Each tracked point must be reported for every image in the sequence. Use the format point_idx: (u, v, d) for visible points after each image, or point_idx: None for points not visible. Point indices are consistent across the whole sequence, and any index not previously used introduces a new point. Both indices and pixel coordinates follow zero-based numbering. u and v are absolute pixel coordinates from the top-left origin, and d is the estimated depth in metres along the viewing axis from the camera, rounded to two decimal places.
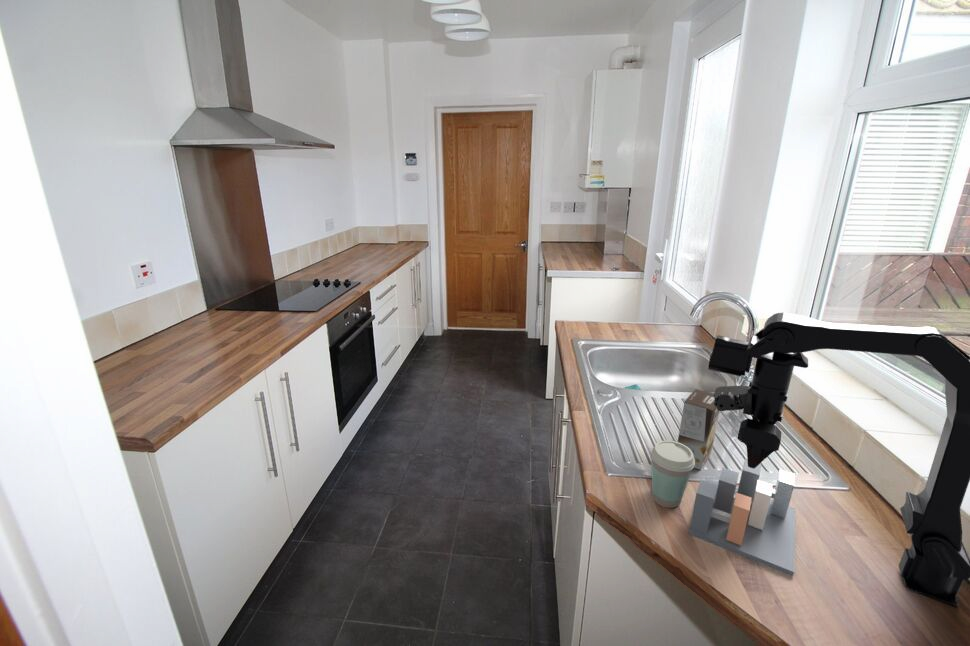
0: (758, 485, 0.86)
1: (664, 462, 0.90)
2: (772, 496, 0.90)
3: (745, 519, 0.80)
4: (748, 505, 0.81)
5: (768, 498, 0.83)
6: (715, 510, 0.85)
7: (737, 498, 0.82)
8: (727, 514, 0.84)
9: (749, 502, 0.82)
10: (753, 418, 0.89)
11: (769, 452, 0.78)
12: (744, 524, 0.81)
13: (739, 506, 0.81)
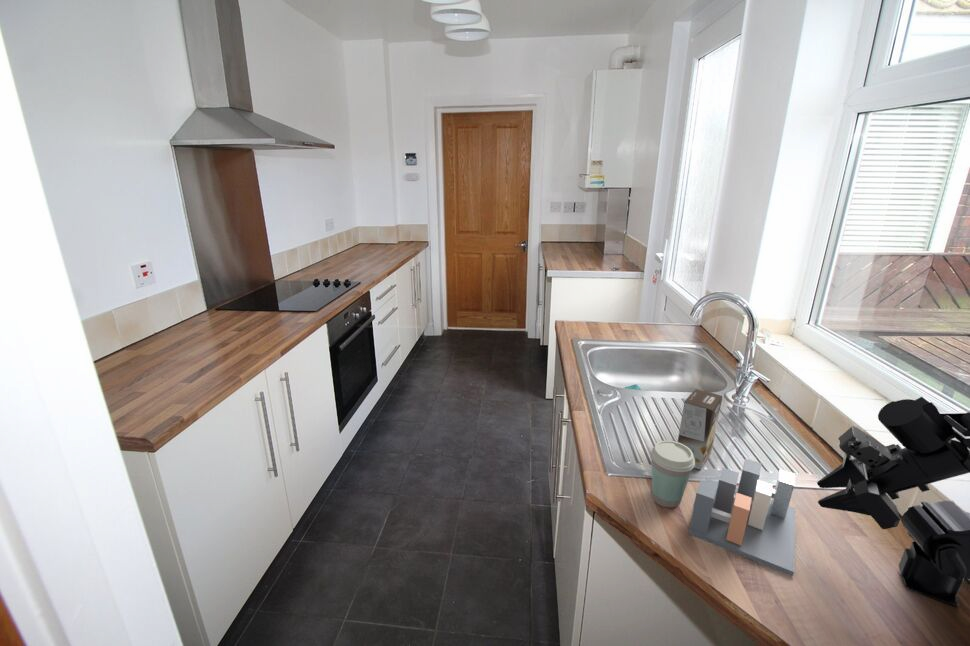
0: (758, 485, 0.86)
1: (664, 462, 0.90)
2: (772, 496, 0.90)
3: (745, 519, 0.80)
4: (748, 505, 0.81)
5: (768, 498, 0.83)
6: (715, 510, 0.85)
7: (737, 498, 0.82)
8: (727, 514, 0.84)
9: (749, 502, 0.82)
10: (843, 469, 0.80)
11: (861, 512, 0.73)
12: (744, 524, 0.81)
13: (739, 506, 0.81)
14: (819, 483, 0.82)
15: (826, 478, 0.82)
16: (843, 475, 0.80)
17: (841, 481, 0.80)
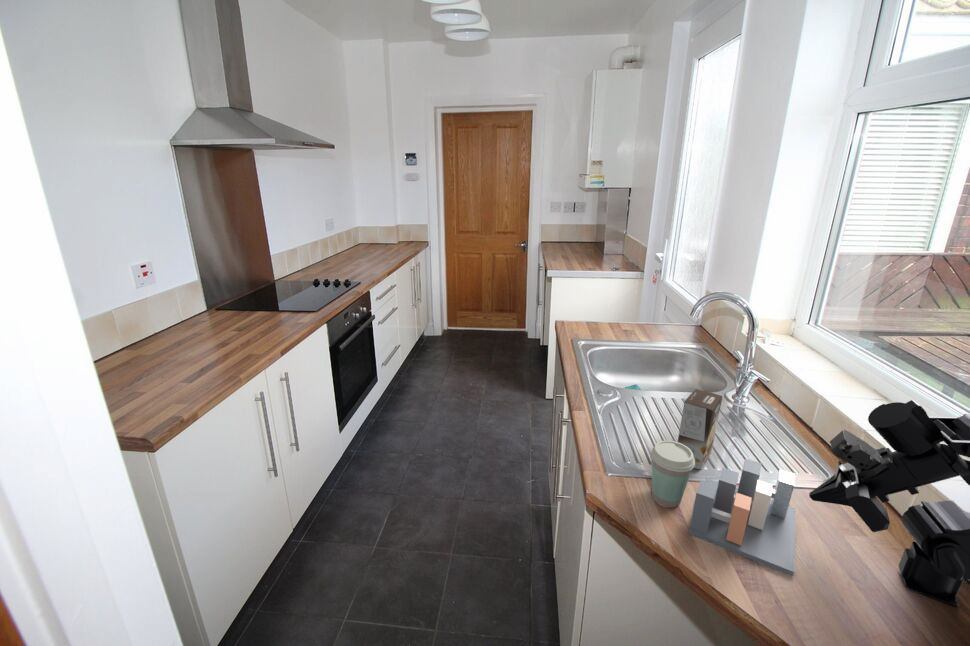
0: (758, 485, 0.86)
1: (664, 462, 0.90)
2: (772, 496, 0.90)
3: (745, 519, 0.80)
4: (748, 505, 0.81)
5: (768, 498, 0.83)
6: (715, 510, 0.85)
7: (737, 498, 0.82)
8: (727, 514, 0.84)
9: (749, 502, 0.82)
10: (835, 480, 0.79)
11: (850, 505, 0.76)
12: (744, 524, 0.81)
13: (739, 506, 0.81)
14: (811, 494, 0.81)
15: (818, 489, 0.80)
16: None
17: None
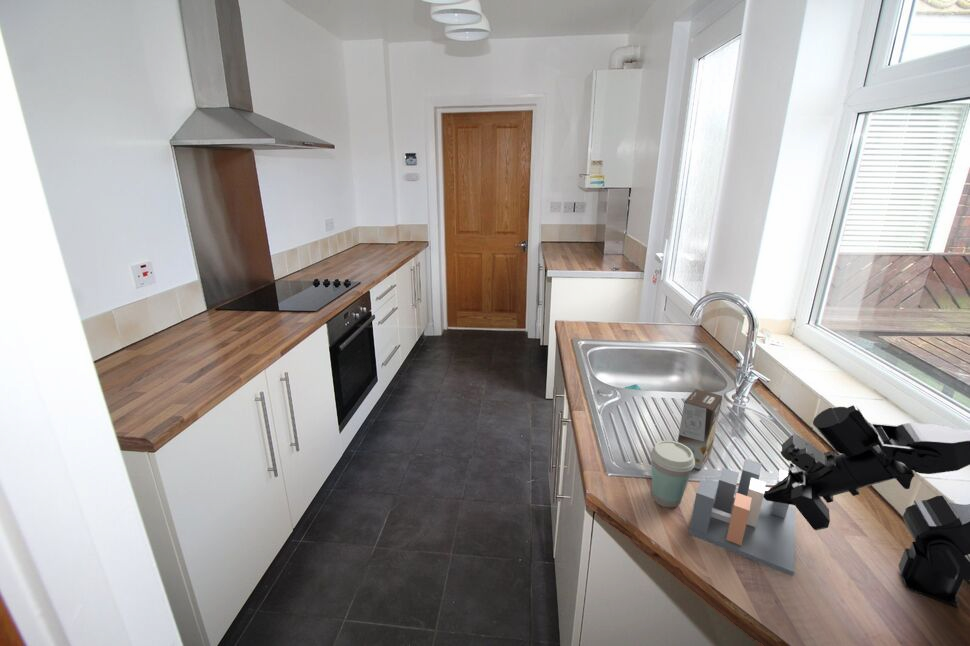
0: (751, 483, 0.86)
1: (664, 462, 0.90)
2: None
3: (745, 519, 0.80)
4: (748, 505, 0.81)
5: (761, 496, 0.84)
6: (715, 510, 0.85)
7: (737, 498, 0.82)
8: (727, 514, 0.84)
9: (749, 502, 0.82)
10: (786, 481, 0.83)
11: None
12: (744, 524, 0.81)
13: (739, 506, 0.81)
14: None
15: (771, 490, 0.85)
16: None
17: None
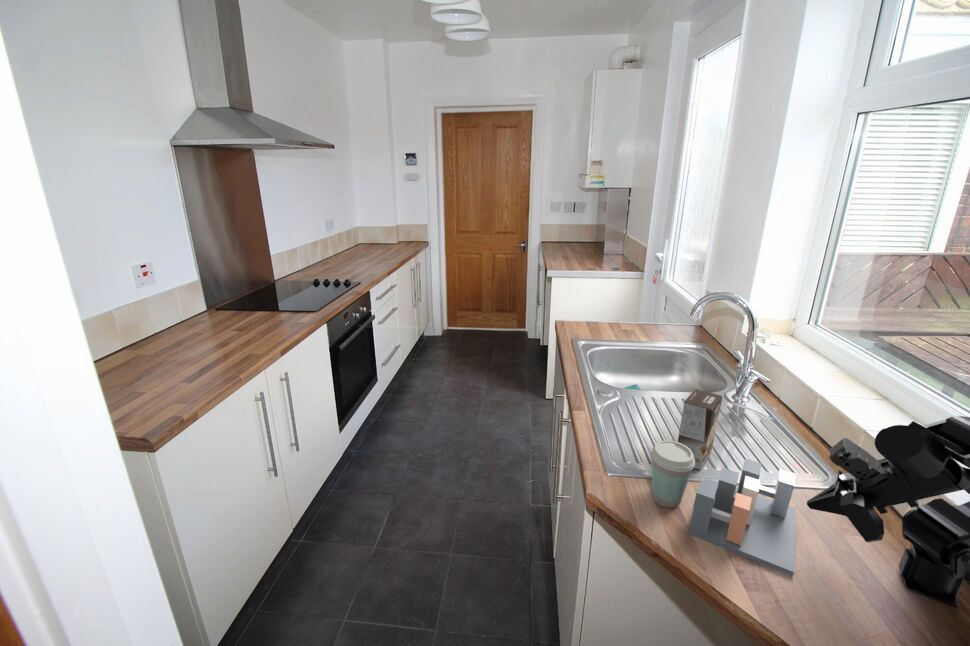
0: (746, 481, 0.87)
1: (664, 462, 0.90)
2: (772, 496, 0.90)
3: (745, 519, 0.80)
4: (748, 505, 0.81)
5: (755, 494, 0.85)
6: (715, 510, 0.85)
7: (737, 498, 0.82)
8: (727, 514, 0.84)
9: (749, 502, 0.82)
10: (834, 489, 0.77)
11: None
12: (744, 524, 0.81)
13: (739, 506, 0.81)
14: None
15: (816, 498, 0.79)
16: None
17: None
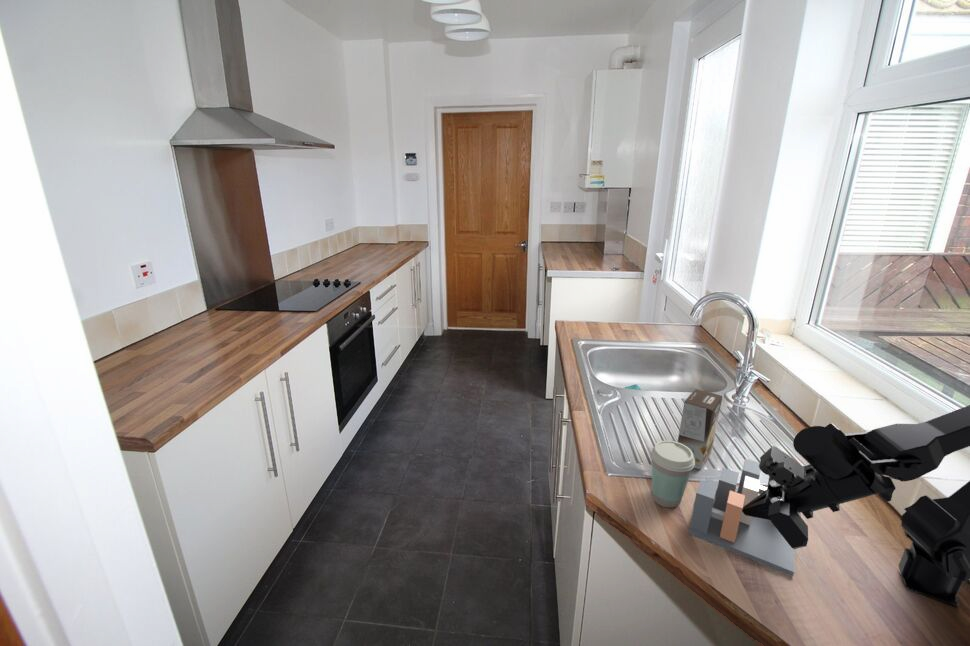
0: (746, 481, 0.87)
1: (664, 462, 0.90)
2: None
3: (738, 516, 0.81)
4: (741, 503, 0.81)
5: (755, 494, 0.85)
6: None
7: (731, 496, 0.83)
8: (721, 512, 0.85)
9: (742, 500, 0.82)
10: (766, 495, 0.80)
11: None
12: (737, 521, 0.81)
13: (732, 504, 0.81)
14: None
15: (750, 504, 0.81)
16: None
17: None
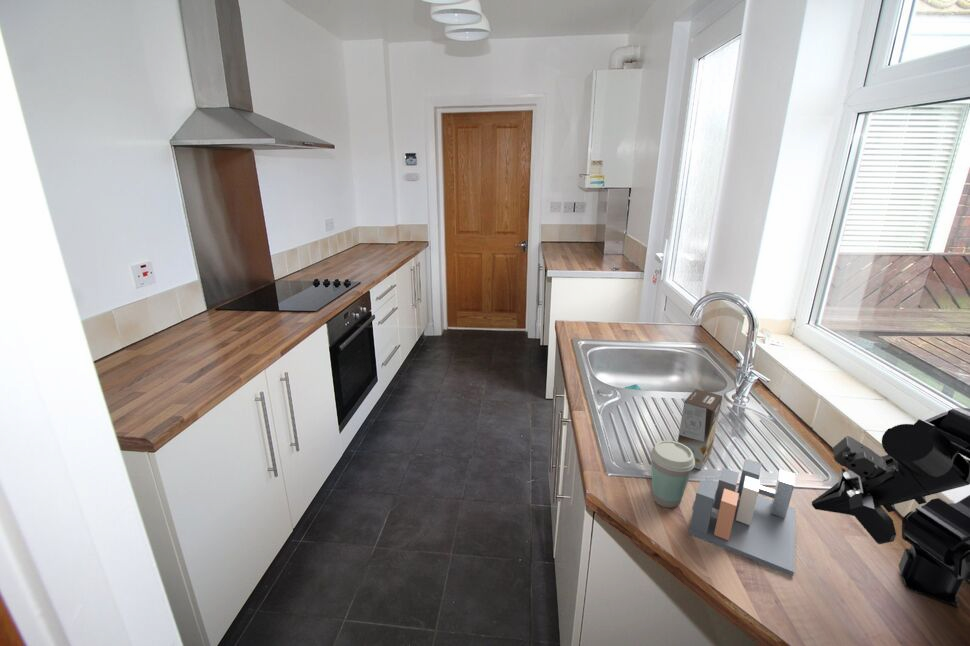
0: (746, 481, 0.87)
1: (664, 462, 0.90)
2: (772, 496, 0.90)
3: (732, 514, 0.82)
4: (735, 500, 0.82)
5: (755, 494, 0.85)
6: None
7: (725, 494, 0.84)
8: (715, 510, 0.85)
9: (736, 498, 0.83)
10: (839, 488, 0.75)
11: None
12: (731, 519, 0.82)
13: (726, 502, 0.82)
14: None
15: (821, 498, 0.77)
16: None
17: None
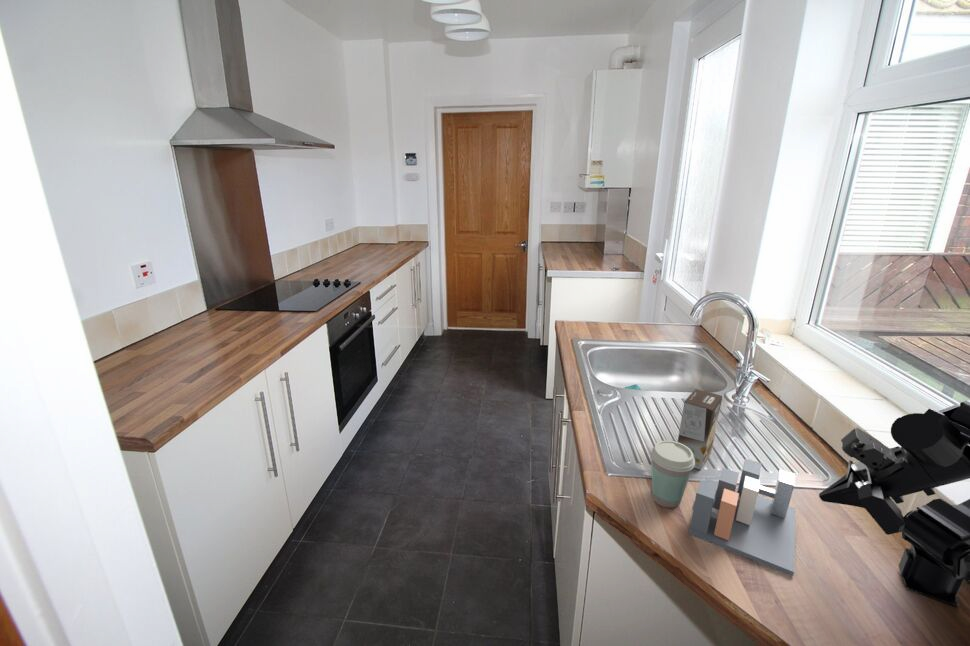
0: (746, 481, 0.87)
1: (664, 462, 0.90)
2: (772, 496, 0.90)
3: (732, 514, 0.82)
4: (735, 500, 0.82)
5: (755, 494, 0.85)
6: None
7: (725, 494, 0.84)
8: (715, 510, 0.85)
9: (736, 498, 0.83)
10: (847, 480, 0.75)
11: (862, 506, 0.73)
12: (731, 519, 0.82)
13: (726, 502, 0.82)
14: (821, 495, 0.78)
15: (829, 490, 0.77)
16: None
17: None
